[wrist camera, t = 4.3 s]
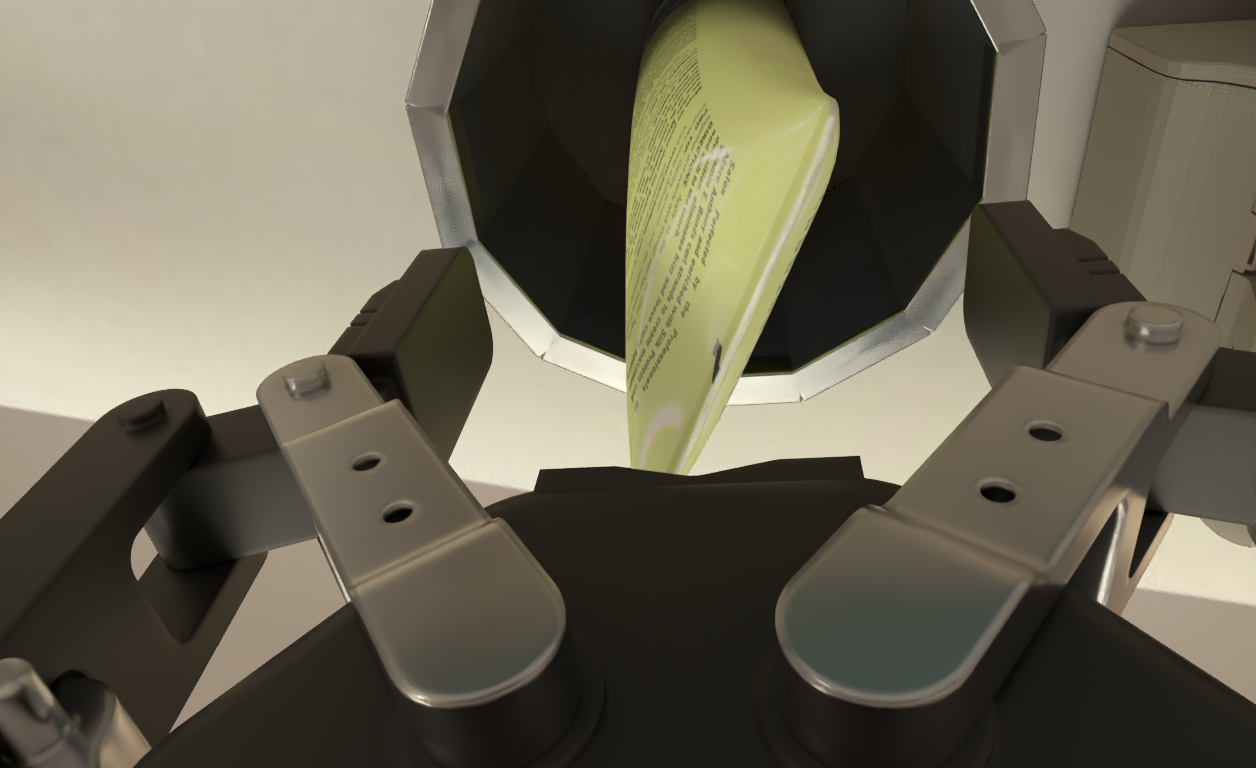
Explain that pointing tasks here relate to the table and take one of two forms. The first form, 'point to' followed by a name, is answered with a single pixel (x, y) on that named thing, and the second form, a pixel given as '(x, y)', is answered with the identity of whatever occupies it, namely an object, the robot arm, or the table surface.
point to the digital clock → (1179, 175)
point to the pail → (833, 247)
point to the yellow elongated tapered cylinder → (713, 209)
